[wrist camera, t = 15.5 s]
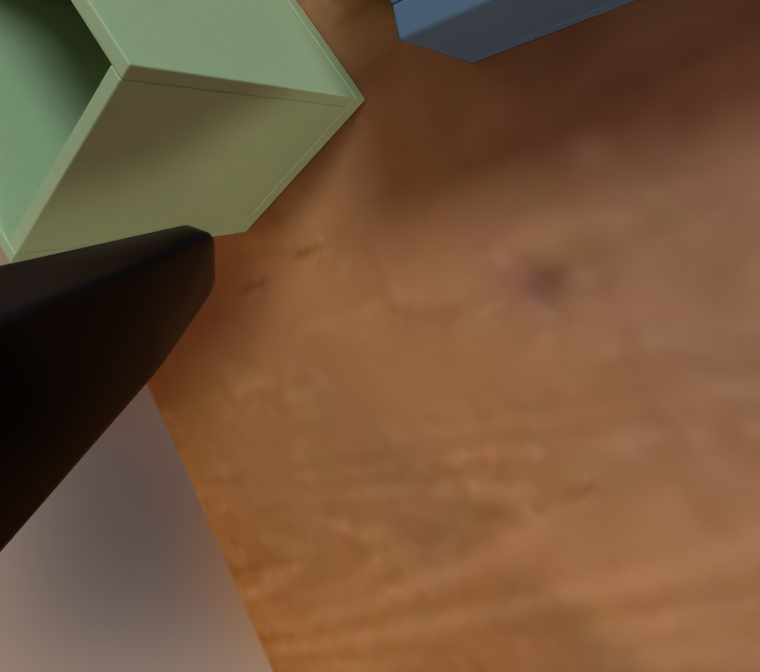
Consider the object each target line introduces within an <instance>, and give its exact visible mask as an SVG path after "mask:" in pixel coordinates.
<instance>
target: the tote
mask: <svg viewBox="0 0 760 672" xmlns="http://www.w3.org/2000/svg"><path fill="white" fill-rule="evenodd" d="M634 1H636V0H390V2H391V3H392V4H394V5H393V13H394V18H395V23H396V27H397V32H398V37H399V39H400V40H401V41H403V42H406V43H410V44H413V45H416V46H419V47H423V48H426V49H429V50H432V51H435V52H439V53H442V54H445V55H448V56H451V57H455V58H458V59H461V60H464V61H465V62H469V63H474V62H476V61H479V60H481V59H484V58H487V57H489V56H492V55H495V54H497V53H500V52H502V51H505V50H508V49H510V48H513V47H516V46H518V45H521V44H523V43H526V42H529V41H531V40H534V39H537V38H539V37H542V36H544V35H547V34H550V33H552V32H555V31H558V30H560V29H563V28H565V27H568V26H571V25H573V24H576V23H579V22H581V21H584V20H586V19H589V18H592V17H594V16H597V15H600V14H602V13H605V12H607V11H610V10H613V9H615V8H618V7H621V6H623V5H626V4H628V3H631V2H634Z"/></svg>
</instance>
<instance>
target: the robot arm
mask: <svg viewBox="0 0 760 672" xmlns="http://www.w3.org/2000/svg"><path fill="white" fill-rule="evenodd" d="M214 281H215V251H214V239H213V237H212V235H211V234H210V233H208V232H206V231H203V230H201V229H198V228H195V227H192V226H189V225H182V226H178V227H173V228H169V229H164V230H160V231H155V232H151V233H146V234H142V235H137V236H133V237H128V238H124V239H119V240H115V241H110V242H106V243H101V244H97V245H92V246H88V247H83V248H78V249H74V250H69V251H65V252H60V253H56V254H51V255H47V256H42V257H38V258H33V259H29V260H24V261H20V262H15V263H11V264H6V265H2V266H0V552H1V550H2V549H3V548H4V547H5V546H6V545H7V544H8V542H9V541H10V540H11V539H12V538H13V537H14V535H15V534H16V533H17V532H18V531H19V529H21V527H22V526H23V525H24V524H25V523H26V522H27V521H28V519H29V518H30V517H31V516H32V515H33V514H34V512H35V511H36V510H37V509H38V508H39V507H40V506H41V504H42V503H43V502H44V501H45V500H46V499H47V497H48V496H49V495H50V494H51V493H52V492H53V491H54V489H55V488H56V487H57V486H58V485H59V483H60V482H61V481H62V480H63V479H64V478H65V477H66V476H67V474H68V473H69V472H70V471H71V470H72V469H73V467H74V466H75V465H76V464H77V463H78V462H79V460H80V459H81V458H82V457H83V456H84V455H85V454H86V452H87V451H88V450H89V449H90V448H91V447H92V445H93V444H94V443H95V442H96V441H97V440H98V439H99V437H100V436H101V435H102V434H103V433H104V432H105V430H106V429H107V428H108V427H109V426H110V425H111V424H112V422H113V421H114V420H115V419H116V418H117V417H118V415H119V414H120V413H121V412H122V411H123V409H125V407H126V406H127V405H128V404H129V403H130V401H131V400H132V399H133V398H134V397H135V396H136V395H137V393H138V392H139V391H140V390H141V389H142V388H143V386H144V385H145V384H146V383H147V382H148V381H149V380H150V378H151V377H152V376H153V375H154V374H155V372H156V371H157V370H158V369H159V367H160V366H161V365H162V363H163V362H164V361H165V359H166V358H167V357H168V355H169V354H170V352H171V351H172V349H173V348H174V346H175V345H176V343H177V342H178V340H179V339H180V337H181V336H182V335H183V333H184V332H185V330H186V329H187V327H188V326H189V324H190V323H191V321H192V320H193V318H194V317H195V315H196V314H197V313H198V311H199V310H200V308H201V307H202V305H203V304H204V302H205V301H206V299H207V298H208V296H209V295H210V293H211V291H212V289H213V286H214Z"/></svg>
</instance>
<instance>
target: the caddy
mask: <svg viewBox="0 0 760 672" xmlns="http://www.w3.org/2000/svg"><path fill="white" fill-rule="evenodd" d="M364 100H365V98H364V96H363V95H362V94H361V92H360V91H359V89H358V88H357V86H356V85H355V84H354V82H353V81H352V79H351V78H350V76H349V75H348V74H347V72H346V71H345V69H344V68H343V66H342V65H341V64H340V62H339V61H338V59H337V58H336V56H335V55H334V54H333V52H332V51H331V49H330V48H329V46H328V45H327V43H326V42H325V41H324V39H323V38H322V36H321V35H320V33H319V32H318V31H317V29H316V28H315V26H314V25H313V23H312V22H311V21H310V19H309V18H308V16H307V15H306V13H305V12H304V11H303V9H302V8H301V6H300V5H299V3H298V2H297V1H296V0H0V247H1V249H2V250H3V252H4V254H5V255H6V257H7V259H8V261H9V262H10V263H15V262H20V261H24V260H29V259H33V258H38V257H42V256H47V255H51V254H56V253H60V252H65V251H69V250H74V249H78V248H83V247H88V246H92V245H97V244H101V243H106V242H110V241H115V240H119V239H124V238H128V237H133V236H137V235H142V234H146V233H151V232H155V231H160V230H164V229H169V228H173V227H178V226H182V225H189V226H192V227H195V228H198V229H201V230H203V231H206V232H208V233H210V234H211V235H212V237H214V236H222V235H229V234H234V233H242V232H246V231H247V230H248V229H249V228H250V227H251V226H252V224H253V223H254V222H255V221H256V220H257V219H258V218H259V217H260V216H261V214H262V213H263V212H264V211H265V210H266V209H267V208H268V207H269V206H270V205H271V203H272V202H273V201H274V200H275V199H276V198H277V197H278V196H279V195H280V193H281V192H282V191H283V190H284V189H285V188H286V187H287V186H288V185H289V183H290V182H291V181H292V180H293V179H294V178H295V177H296V176H297V175H298V173H299V172H300V171H301V170H302V169H303V168H304V167H305V166H306V165H307V164H308V162H309V161H310V160H311V159H312V158H313V157H314V156H315V155H316V154H317V152H318V151H319V150H320V149H321V148H322V147H323V146H324V145H325V144H326V142H327V141H328V140H329V139H330V138H331V137H332V136H333V135H334V134H335V132H336V131H337V130H338V129H339V128H340V127H341V126H342V125H343V124H344V123H345V121H346V120H347V119H348V118H349V117H350V116H351V115H352V114H353V113H354V111H355V110H356V109H357V108H358V107H359V106H360V105H361V104H362V103H363V101H364Z"/></svg>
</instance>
